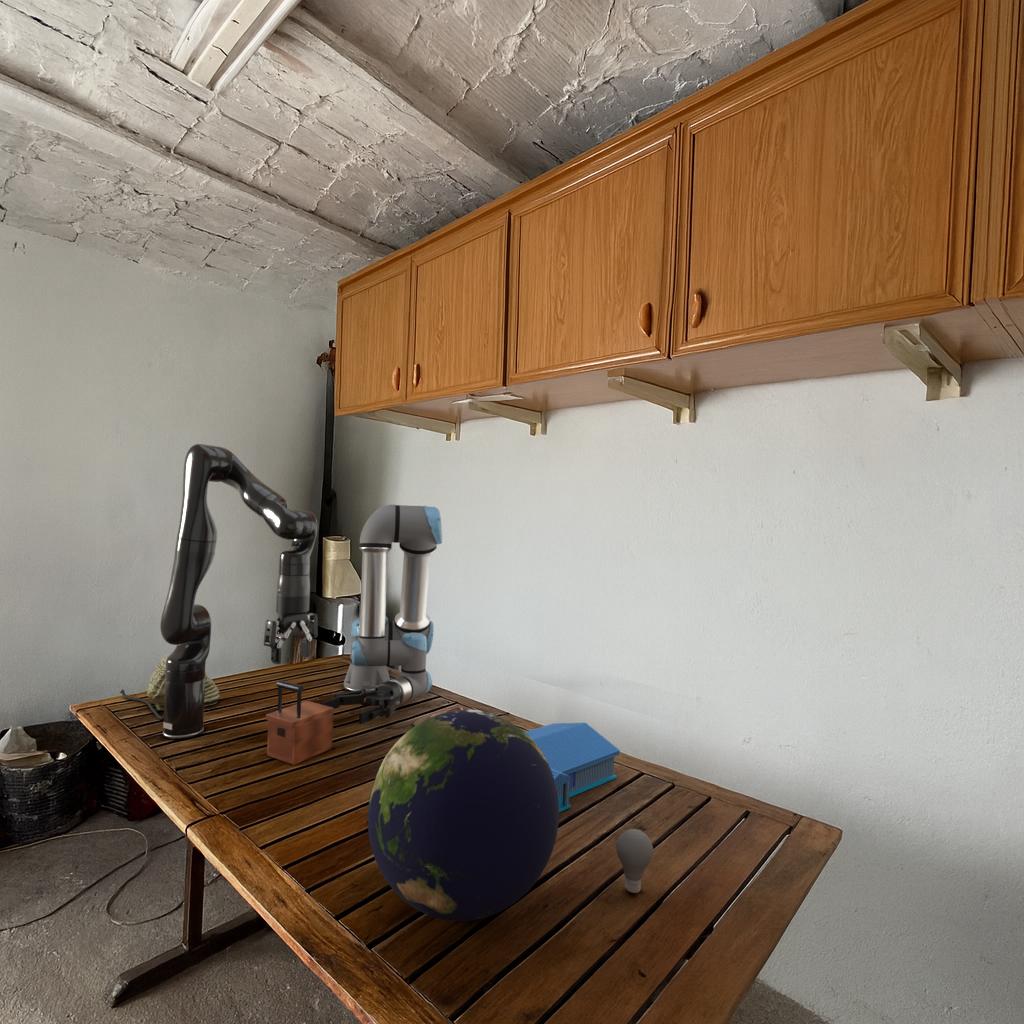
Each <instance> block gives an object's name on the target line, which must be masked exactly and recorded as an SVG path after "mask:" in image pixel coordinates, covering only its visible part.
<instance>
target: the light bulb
mask: <svg viewBox="0 0 1024 1024" xmlns="http://www.w3.org/2000/svg"><path fill="white" fill-rule="evenodd" d="M615 849H616V854H617V857H618V859H619V861H620V863H621V865H622V867H623V873H624V874H623V875H624V876H625V878H624V888H625V890H627V891H628V892H630V893H634V894H635V893H639V892H640V891H641V889H642V887H641V886H642V879H643V877H644V875H645V871H646V868H647V867H648V866H649V864H650V863H651V861H652V859H653V855H654V847H653V843H652V841H651V838H649V836H648V835H647V834H646V833H645V832H643V831H642V830H641V829H636V828H629V829H627V830H625V831H623V832H622V833H621V834H620V835H619V837H618V839H617V841H616V847H615Z"/></svg>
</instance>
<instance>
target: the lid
mask: <svg viewBox="0 0 1024 1024" xmlns="http://www.w3.org/2000/svg"><path fill="white" fill-rule="evenodd" d="M276 687H277V688H278V691H277V710H275V711H272V712H269V713H266V714H265V720H266V721H268V720H269V721H272V722H275V723H278V724H282V725H285V726H288V727H292V728H294V727H297V726H299V725H302V724H305V723H308V722H310V721H313V720H316V719H318V718H321V717H324V716H326V715H329V714H332V713H334V711H335V709H334V708H332V707H329V706H325V705H321V704H320V703H317V702H312V701H309V700H305V701H302V693H303V692H304V689H305V687H304V685H302V684H299V683H295V682H290V681H285V680H283V679H279V680H277V681H276ZM283 689H284V690H287V691H291V692H295V693H296V704H292V705H290V706H287V707H284V708H283V691H284V690H283ZM334 714H335V713H334Z"/></svg>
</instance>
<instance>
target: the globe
mask: <svg viewBox="0 0 1024 1024" xmlns="http://www.w3.org/2000/svg"><path fill="white" fill-rule="evenodd" d="M525 732H526V731H524V730H523V729H521V727H519V726H517V725H516V724H514V723H513V722H511V721H510V720H508V719H506V718H504V717H501V716H499V715H497V714H495V713H492V712H487V711H483V710H479V709H463V710H457V711H450V712H445V713H442V714H439V715H436V716H433V717H431V718H429V719H427V720H425V721H423V722H421V723H419V724H418V725H416V726H415V725H414V726H413V727H412V728H411V729H409V730H408V731H407V732H405V734H403V735H402V736H401V737H400V738H399V739H398V740H397V741H396V742H395V743H394V745H392V747H391V748H390V750H389V751H388V753H387V754H386V755H385V757H384V758H383V760H382V762H381V764H380V766H379V768H378V770H377V772H376V775H375V778H374V780H373V783H372V787H371V791H370V793H369V800H368V801H369V802H368V809H367V829H368V831H367V832H368V838H369V843H370V847H371V852H372V855H373V857H374V860H375V863H376V865H377V867H378V869H379V871H380V873H381V874H382V876H383V878H384V880H385V881H386V883H387V885H389V886H390V888H391V889H392V890H393V891H394V892H395V894H397V896H399V897H400V898H401V900H403V902H405V903H406V904H408V905H409V906H410V907H412V908H414V909H415V910H417V911H419V912H421V913H423V914H425V915H428V916H430V917H432V918H436V919H440V920H443V921H448V922H449V921H450V922H471V921H477V920H482V919H486V918H488V917H491V916H494V915H496V914H499V913H501V912H502V911H505V910H506V909H508V908H510V907H511V906H512V905H514V904H515V903H517V902H518V901H519V900H520V899H521V898H522V897H524V896H525V895H526V894H527V893H528V892H529V891H530V890H531V889H532V888H533V886H534V885H535V884H536V883H537V881H538V880H539V879H540V877H541V876H542V874H543V872H544V870H545V869H546V867H547V865H548V863H549V860H550V858H551V856H552V853H553V851H554V847H555V845H556V840H557V835H558V832H559V823H560V812H559V801H558V793H557V788H556V784H555V780H554V777H553V774H552V771H551V769H550V766H549V764H548V761H547V760H546V758H545V756H544V754H543V753H542V751H541V750H540V748H539V747H538V746H537V744H536V743H535V742H534V741H533V740H532V739H531V738H530V737H529V736H528V735H527V734H526V733H525Z"/></svg>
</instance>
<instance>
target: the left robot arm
mask: <svg viewBox="0 0 1024 1024" xmlns="http://www.w3.org/2000/svg"><path fill="white" fill-rule="evenodd" d="M182 475H183V476H182V478H183V479H182V481H183V482H182V496H181V497H182V500H181V508H180V516H179V524H178V529H177V530H178V531H177V534H176V541H175V547H174V557H173V563H172V568H171V575H170V580H169V587H168V591H167V595H166V598H165V604H164V606H163V610H162V613H161V618H160V623H159V625H160V626H159V628H160V634H161V636H162V638H163V640H164V641H165V642H166V643H167V644H169V645H172V646H175V648H174V649H173V651H172V652H171V653H170V654H168V655H169V656H168V658H167V659H166V674H165V705H164V710H163V715H160V714H159V711H158V710H156V708H155V707H154V706H153V705H152V703H151V702H150V701H149V700H147V699H144V698H140V697H134V696H129V695H127V694H126V692H125V690H124V689H121V690H120V691H119V692H120V694H121V695H122V697H123V698H125V699H128V700H130V701H137V702H142V703H145V704H146V705H147V706H148V707H149V709H150V710H151V712H153V714H154V715H155V716H156V718H158V719H159V720H163V723H162V724H163V728H162V729H163V731H162V737H164V738H166V739H169V740H185V739H190V738H191V739H192V738H194V737H197V736H199V735H202V734H203V732H204V730H205V729H204V722H205V721H204V718H205V706H204V693H205V672H206V664H207V663H206V662H207V658H208V656H209V653H210V649H211V648H210V647H211V639H212V637H211V636H212V617H211V614H210V613H209V610H208V609H207V608H206V607H205V606H203V605H201V604H196V597H197V593H198V590H199V588H200V586H201V584H202V582H203V580H204V578H205V577H206V575H207V573H208V572H209V570H210V568H211V566H212V564H213V561H214V558H215V555H216V548H217V541H218V529H217V526H216V523H215V521H214V518H213V516H212V514H211V511H210V508H209V504H208V487H209V483H210V482H212V483H223V484H225V485H227V486H229V487H231V488H233V489H235V490H236V491H237V493H239V497H240V499H241V501H242V502H243V504H244V505H245V506H246V507H247V509H249V510H250V511H251V512H253V513H254V514H256V515H257V516H259V517H260V518H261V519H263V521H264V522H265V524H266V525H267V526H268V528H269V529H270V531H271V532H272V533H273V534H274V535H275V536H277V537H278V538H280V539H283V540H289V541H291V543H290V546H289V547H288V548H286V549H283V550H282V551H280V554H279V557H278V577H277V581H276V582H277V583H276V603H275V611H276V614H277V618H276V619H275V620H271V619H266V620H265V623H264V624H265V625H264V636H263V645H264V646H265V647H270V661H271V662H272V664H274V665H280V664H282V646H283V645H284V642H285V641H287V640H288V638H289V637H293V636H295V635H296V636H299V638H300V639H301V641H300V652H299V653H300V655H299V656H300V657H301V658H308V657H309V656H310V653H311V642H312V640H313V639H314V638H315V639H317V637H318V636H319V633H318V632H319V630H318V629H319V628H318V627H319V625H318V622H319V621H318V617H319V616H318V614H317V613H313V612H309V611H310V600H311V599H310V598H311V597H310V596H311V578H310V571H311V569H310V567H311V555H312V552H313V549H314V547H315V542H316V538H317V535H318V531H319V530H318V529H319V523H318V520H317V517H316V515H315V514H314V513H313V512H312V511H310V510H306V509H289V504H288V502H287V500H286V498H284V497H283V496H282V495H281V494H279V493H278V492H276V491H275V490H274V489H273V488H271V487H270V486H269V485H267V484H265V483H264V481H263V482H262V481H261V480H260V479H259V478H258V477H257V476H256V475H254V473H252V472H251V471H250V469H248V468H247V466H245V465H244V464H243V462H242V461H241V460H240V458H238V457H237V456H236V455H235V454H234V453H233V452H232V451H231V450H229V449H227V448H226V447H222V446H217V445H211V444H204V443H195V444H193V445H192V446H190V447H189V449H188V450H187V452H186V454H185V457H184V462H183V474H182Z"/></svg>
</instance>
